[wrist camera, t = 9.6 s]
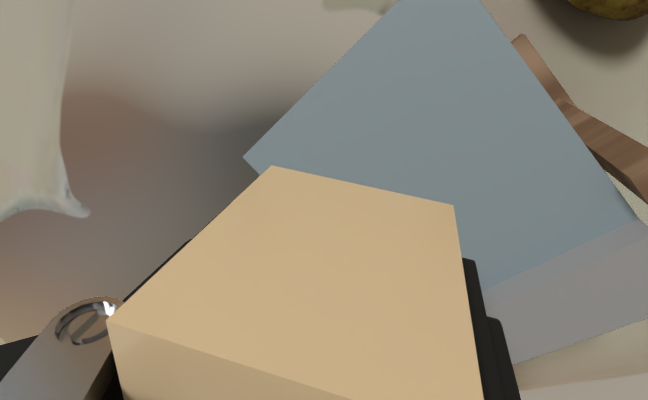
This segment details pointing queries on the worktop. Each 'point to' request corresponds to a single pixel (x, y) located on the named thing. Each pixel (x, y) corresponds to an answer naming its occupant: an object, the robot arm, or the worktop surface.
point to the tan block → (306, 302)
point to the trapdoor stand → (593, 129)
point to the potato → (613, 8)
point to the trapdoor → (477, 168)
